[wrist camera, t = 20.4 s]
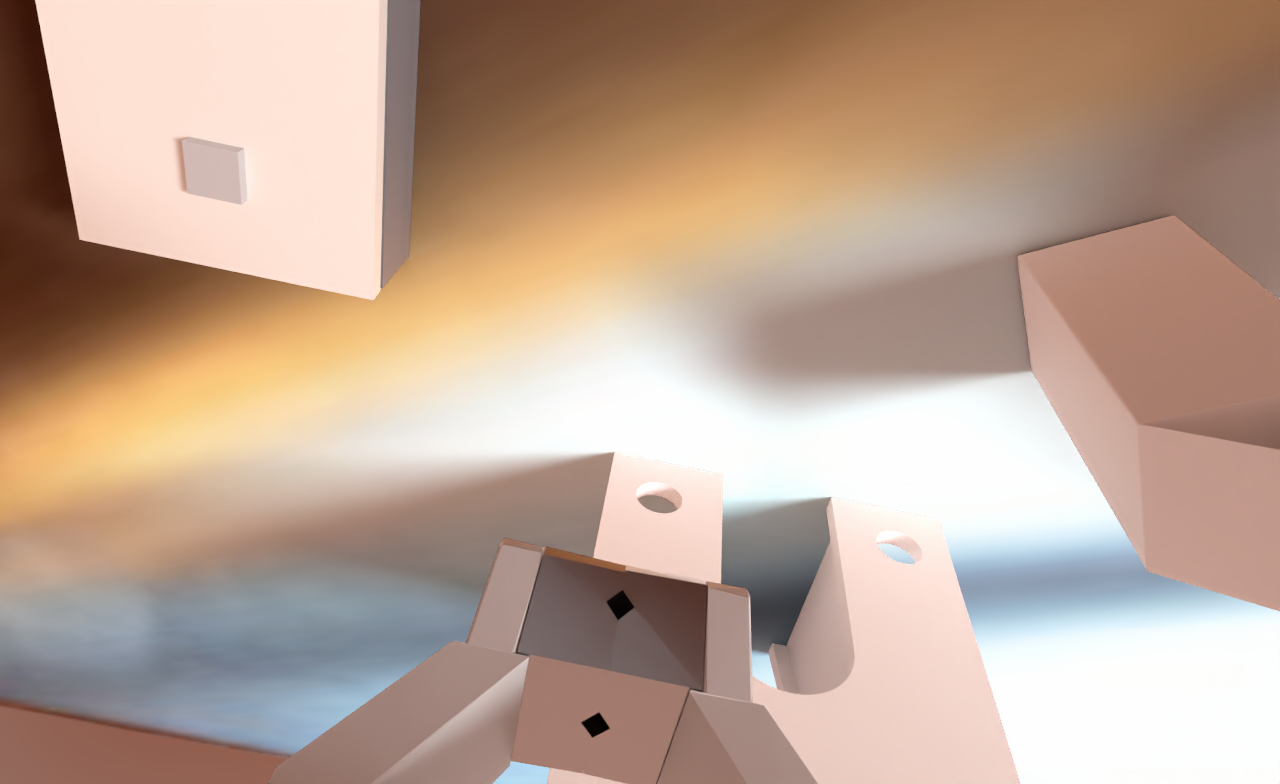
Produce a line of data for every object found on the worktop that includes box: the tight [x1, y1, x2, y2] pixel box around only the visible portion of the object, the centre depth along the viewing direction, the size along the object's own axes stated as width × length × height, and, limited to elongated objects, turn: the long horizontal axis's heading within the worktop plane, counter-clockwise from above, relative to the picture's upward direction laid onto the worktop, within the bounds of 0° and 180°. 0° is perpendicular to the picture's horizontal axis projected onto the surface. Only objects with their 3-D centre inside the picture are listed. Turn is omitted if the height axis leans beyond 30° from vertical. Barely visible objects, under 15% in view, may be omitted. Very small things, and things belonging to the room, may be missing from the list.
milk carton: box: [1018, 215, 1280, 611], centre depth 34 cm, size 7×7×19 cm
